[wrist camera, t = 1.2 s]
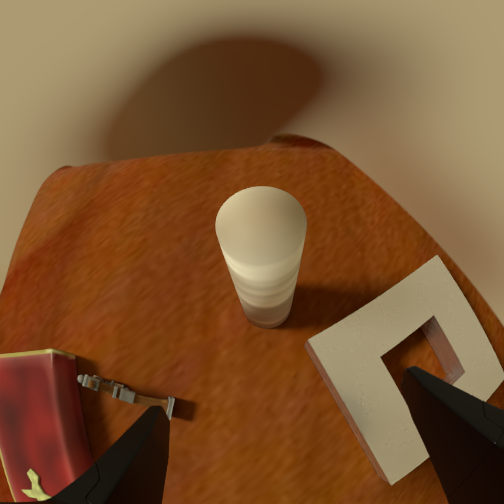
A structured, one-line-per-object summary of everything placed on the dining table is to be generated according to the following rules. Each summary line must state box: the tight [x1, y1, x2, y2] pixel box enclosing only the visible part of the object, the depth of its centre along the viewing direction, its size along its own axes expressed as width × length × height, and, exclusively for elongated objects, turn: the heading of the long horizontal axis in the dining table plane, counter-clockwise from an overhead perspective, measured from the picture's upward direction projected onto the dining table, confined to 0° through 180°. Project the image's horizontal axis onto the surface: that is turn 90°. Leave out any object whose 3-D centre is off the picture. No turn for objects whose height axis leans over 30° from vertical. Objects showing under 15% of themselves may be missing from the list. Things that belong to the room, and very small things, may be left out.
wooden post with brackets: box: [78, 374, 175, 419], centre depth 20 cm, size 2×8×4 cm, turn 79°
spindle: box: [216, 186, 307, 329], centre depth 18 cm, size 4×4×13 cm
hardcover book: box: [0, 349, 94, 502], centre depth 16 cm, size 12×21×4 cm, turn 14°
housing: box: [304, 255, 504, 485], centre depth 19 cm, size 14×14×3 cm
